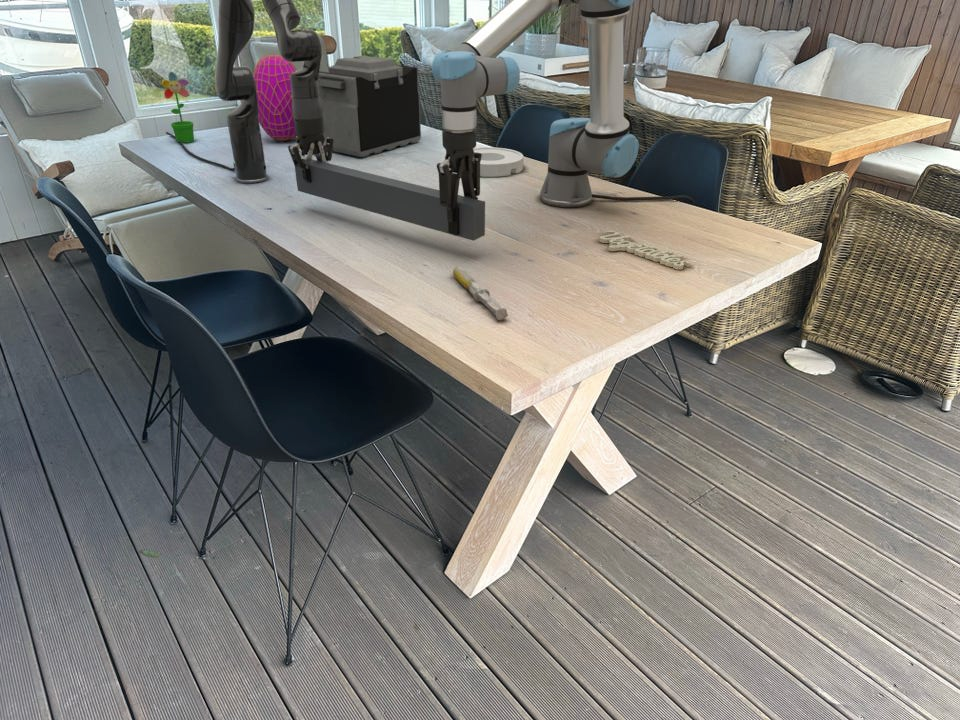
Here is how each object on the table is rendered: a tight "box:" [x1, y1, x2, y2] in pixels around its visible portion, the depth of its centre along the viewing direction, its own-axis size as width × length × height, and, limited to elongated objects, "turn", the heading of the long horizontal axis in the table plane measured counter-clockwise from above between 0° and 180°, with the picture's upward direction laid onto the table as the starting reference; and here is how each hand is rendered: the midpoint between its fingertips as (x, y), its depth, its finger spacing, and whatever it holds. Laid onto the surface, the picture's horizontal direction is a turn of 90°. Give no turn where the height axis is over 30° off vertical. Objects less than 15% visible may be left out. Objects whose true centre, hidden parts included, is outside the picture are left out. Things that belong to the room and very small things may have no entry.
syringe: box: [452, 266, 509, 321], centre depth 145 cm, size 25×4×3 cm, turn 21°
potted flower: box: [160, 71, 195, 144], centre depth 255 cm, size 9×8×25 cm
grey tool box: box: [318, 55, 422, 159], centre depth 250 cm, size 37×22×30 cm, turn 144°
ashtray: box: [473, 146, 525, 178], centre depth 232 cm, size 23×23×4 cm
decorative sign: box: [599, 230, 690, 270], centre depth 167 cm, size 26×1×10 cm
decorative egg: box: [252, 54, 298, 142], centre depth 257 cm, size 19×19×30 cm
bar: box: [293, 158, 486, 241], centre depth 174 cm, size 61×4×8 cm, turn 53°
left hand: (315, 179), depth 187 cm, fingers closed on bar, 4 cm apart
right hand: (461, 230), depth 162 cm, fingers closed on bar, 5 cm apart
